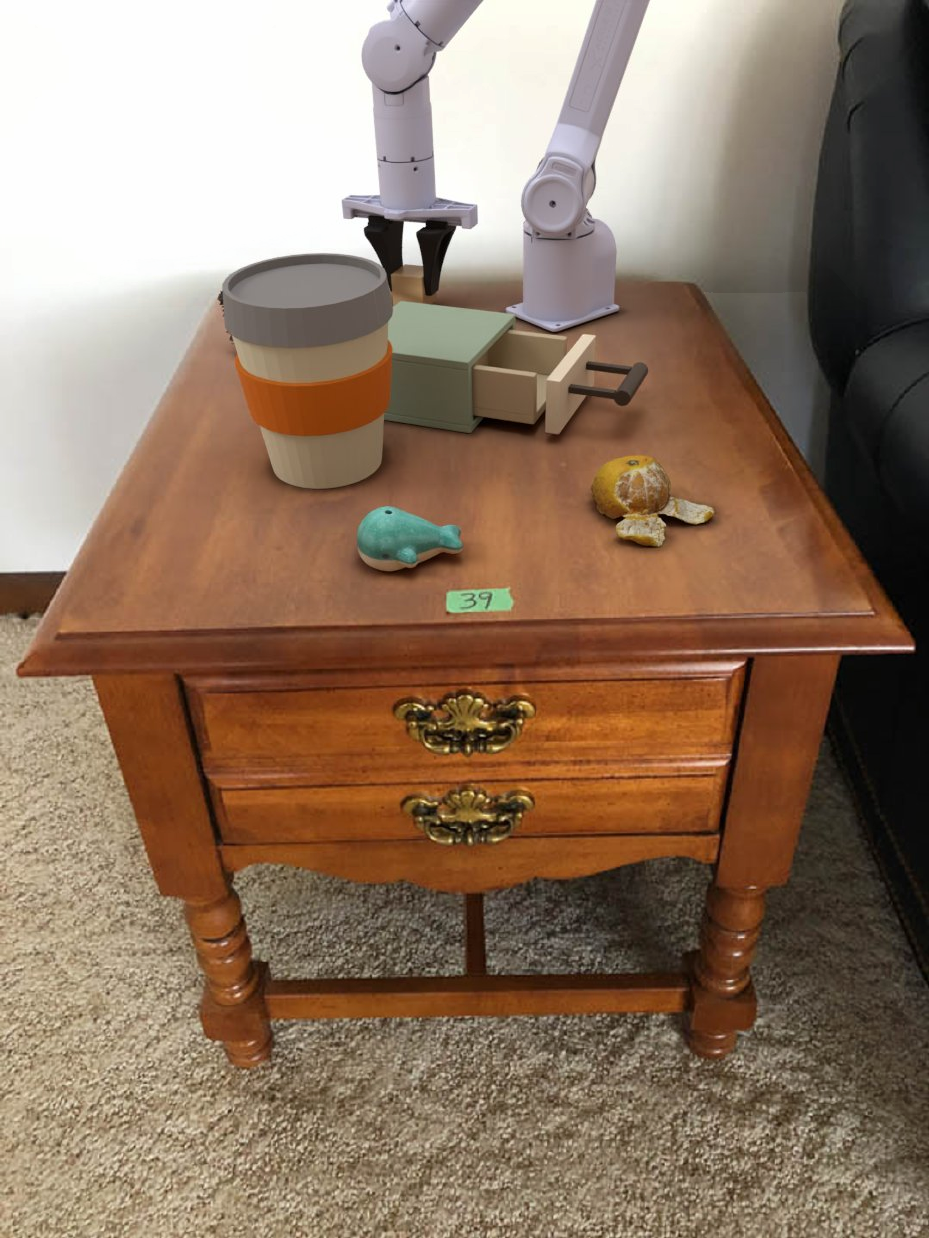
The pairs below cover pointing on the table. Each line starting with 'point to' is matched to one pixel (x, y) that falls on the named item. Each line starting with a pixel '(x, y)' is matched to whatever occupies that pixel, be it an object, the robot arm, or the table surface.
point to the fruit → (641, 499)
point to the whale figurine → (403, 539)
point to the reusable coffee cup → (314, 362)
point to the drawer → (544, 378)
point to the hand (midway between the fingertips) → (414, 291)
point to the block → (410, 285)
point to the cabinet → (438, 362)
